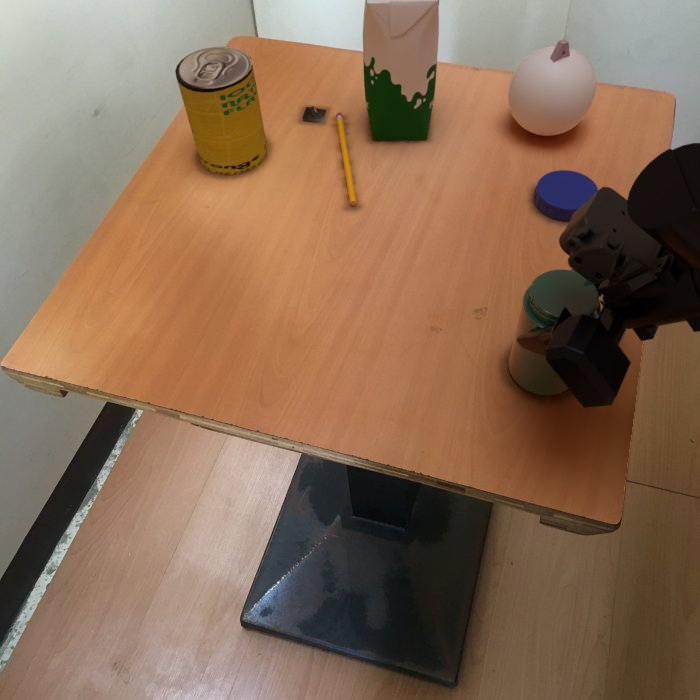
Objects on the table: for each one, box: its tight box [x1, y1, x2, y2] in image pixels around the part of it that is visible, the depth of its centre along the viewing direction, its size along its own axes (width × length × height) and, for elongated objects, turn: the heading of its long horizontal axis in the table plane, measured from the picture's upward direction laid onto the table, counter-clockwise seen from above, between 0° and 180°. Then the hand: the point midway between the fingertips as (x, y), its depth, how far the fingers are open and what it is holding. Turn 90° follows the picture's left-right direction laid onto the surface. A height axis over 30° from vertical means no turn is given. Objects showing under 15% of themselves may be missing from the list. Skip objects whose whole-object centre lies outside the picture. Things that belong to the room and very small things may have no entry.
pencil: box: [335, 112, 357, 207], centre depth 82 cm, size 1×18×1 cm, turn 6°
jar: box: [508, 268, 602, 396], centre depth 58 cm, size 6×6×11 cm
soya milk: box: [362, 0, 440, 141], centre depth 79 cm, size 9×9×20 cm
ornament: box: [507, 38, 597, 137], centre depth 80 cm, size 10×10×12 cm
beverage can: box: [174, 46, 269, 176], centre depth 80 cm, size 9×9×12 cm
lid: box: [533, 169, 599, 222], centre depth 75 cm, size 7×7×2 cm
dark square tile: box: [302, 105, 327, 124], centre depth 88 cm, size 3×3×1 cm
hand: (534, 316), depth 57 cm, fingers closed on jar, 6 cm apart
